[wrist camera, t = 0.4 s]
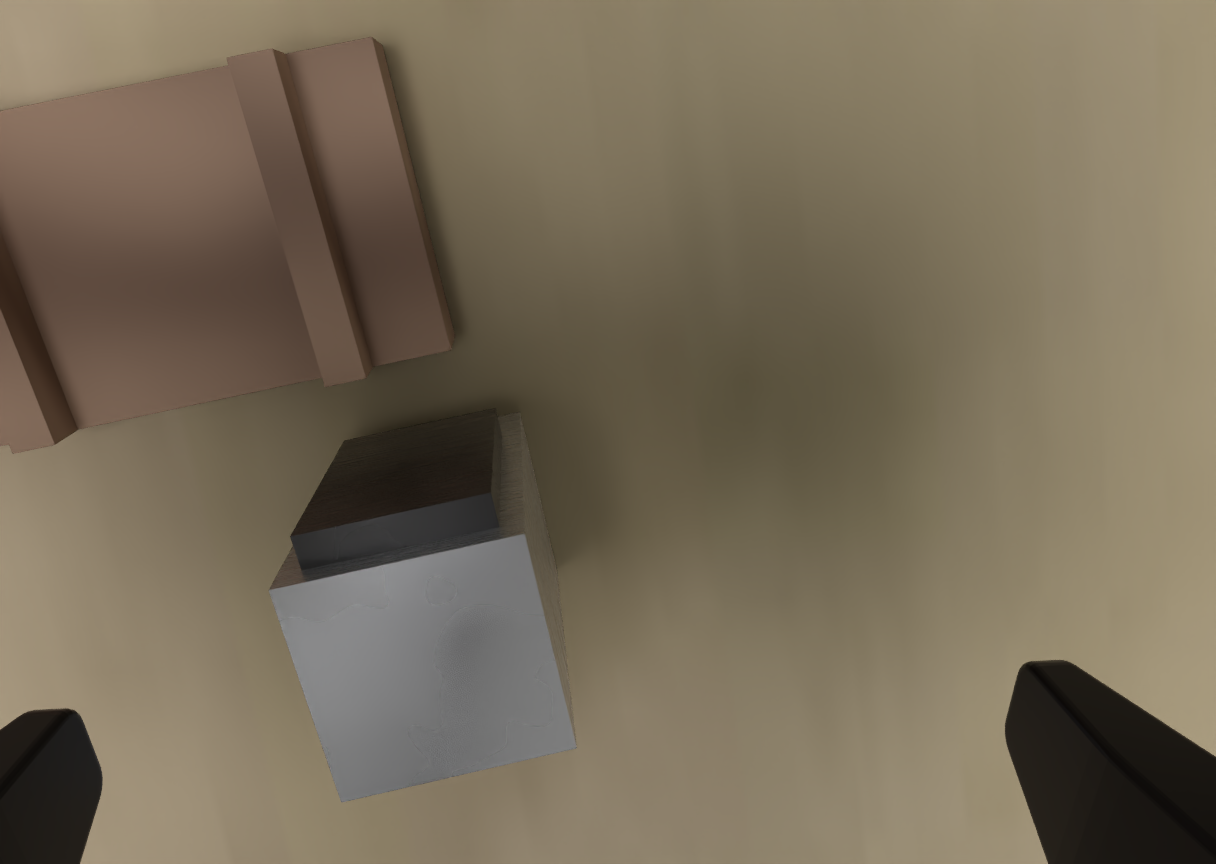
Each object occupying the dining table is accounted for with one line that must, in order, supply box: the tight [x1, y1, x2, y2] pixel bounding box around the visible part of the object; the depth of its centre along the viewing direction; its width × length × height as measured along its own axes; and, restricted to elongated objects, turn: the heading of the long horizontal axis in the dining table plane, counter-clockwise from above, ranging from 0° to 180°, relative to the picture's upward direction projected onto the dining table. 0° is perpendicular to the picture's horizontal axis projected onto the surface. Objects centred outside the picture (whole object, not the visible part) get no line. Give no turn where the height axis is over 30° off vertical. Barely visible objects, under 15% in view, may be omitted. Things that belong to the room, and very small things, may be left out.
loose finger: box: [269, 408, 577, 802], centre depth 18 cm, size 5×4×7 cm
